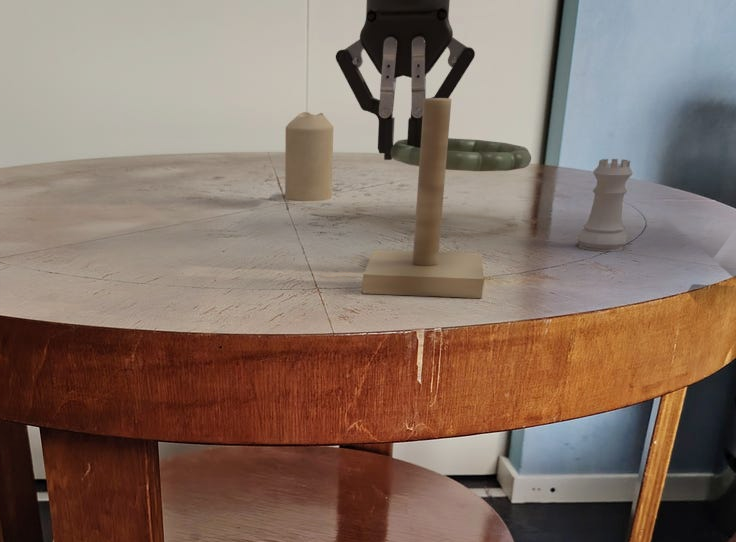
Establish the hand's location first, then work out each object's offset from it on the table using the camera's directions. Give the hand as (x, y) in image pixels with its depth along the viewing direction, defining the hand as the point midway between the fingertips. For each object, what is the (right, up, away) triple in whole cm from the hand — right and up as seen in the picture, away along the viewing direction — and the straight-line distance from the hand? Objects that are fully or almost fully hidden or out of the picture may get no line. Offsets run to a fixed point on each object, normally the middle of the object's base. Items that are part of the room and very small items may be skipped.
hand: (399, 158), depth 88 cm
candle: (-8, +2, +19) cm, 21 cm away
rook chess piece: (+17, -12, -8) cm, 22 cm away
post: (-1, -16, -16) cm, 23 cm away
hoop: (+6, 0, -1) cm, 6 cm away
